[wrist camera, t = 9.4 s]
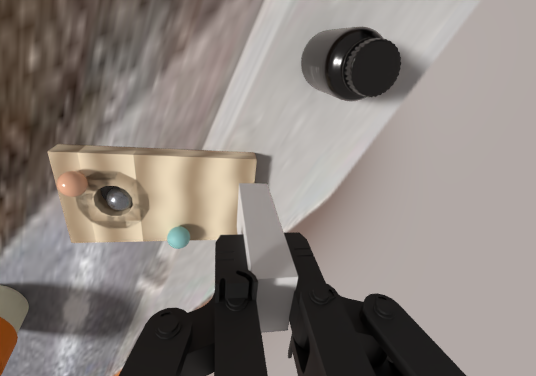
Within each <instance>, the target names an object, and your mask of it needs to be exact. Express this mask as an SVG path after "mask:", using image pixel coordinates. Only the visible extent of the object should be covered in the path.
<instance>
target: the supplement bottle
mask: <svg viewBox="0 0 536 376" xmlns="http://www.w3.org/2000/svg"><path fill="white" fill-rule="evenodd" d="M400 60H401V57H400V53H399V52H398V48H397V47H396V46H395V44H392V42H391V41H388V40H387V39H383V37H382V36H381V35H380V34H379V33H378V32H377V31H375V30H373V29H371V28H367V27H351V28H342V29H333V30H326V31H323V32H320V33H318V34H317V35H315V36H314V37H313V38H312V39H311V40H310V41H309V42H308V44H307V45H306V47H305V49H304V52H303V55H302V61H301V66H302V72H303V75H304V77H305V79H306V81H307V82H308V83H309V84H310V85H311V86H312V87H314V88H316V89H318V90H320V91H322V92H325V93H327V94H329V95H332V96H334V97H336V98H339V99H341V100H345V101H358V100H361V99H364V98H366V97H373V96H375V97H376V96H377V95H381V94H382V93H384V92H386V91H387V90H388V89H390V87H391V86H392V85H393V84H394V82H395V81H396V79H397V77H398V75H399V71H400V65H401V62H400Z"/></svg>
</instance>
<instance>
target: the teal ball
mask: <svg viewBox="0 0 536 376" xmlns="http://www.w3.org/2000/svg"><path fill="white" fill-rule="evenodd" d="M167 241H168V243H169V245H170V246H171V247H173V248H176V249H180V248H183V247H185V246H186V245H187V244H188V243H189V241H190V233H189V231H188V230H187V229H186V228H184V227H180V226H178V227H174V228H172V229H171V230H170V231H169V233H168V235H167Z"/></svg>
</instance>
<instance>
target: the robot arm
mask: <svg viewBox="0 0 536 376" xmlns="http://www.w3.org/2000/svg"><path fill="white" fill-rule="evenodd" d="M289 321H290V325H291V329H292V336H291V341H290V346H289V350H288V358H291V357H292V352H293V356H294V360H295V364H296V368H297V373H298V376H466V375H465V374H464V373H463V372H462V371H461V370H460V369H459V368H458V367H457V365H456V364H455V363H454V362H453V361H452V360H451V359H450V358H449V357H448V356H447V355H446V354H445V353H444V352H443V351H442V350H441V348H440V347H439V346H438V345H437V344H436V343H435V342H434V341H433V340H432V339H431V338H430V337H429V336H428V335H427V334H426V333H425V332H424V330H422V328H421V327H419V325H418V324H417V323H416V322H415V321H414V320H413V319H412V318H411V317H410V316H409V315H408V314H407V313H406V311H405V310H404V309H403V308H402V307H401V306H400V305H399V304H398V303H397V302H395V301H394V300H393V299H391V298H389V297H387V296H385V295H381V294H370V295H369V296H367V297H366V298H365V300H364V302H361V301H357V300H352V299H348V298H345V297H341V296H340V295H338V293H337V292H336V290H335V289H334V288H332V287H331V286H330V285H329V284H326V282H325V280H324V278H323V276H322V273H321V271H320V269H319V266H318V264H317V262H316V260H315V257H314V256H313V253H312V251H311V249H310V246H309V243H308V241H307V239H306V238H305V237H303V236H302V235H301V234H300V233H284V232H283V229H282V226H281V223H280V220H279V217H278V214H277V211H276V208H275V205H274V202H273V199H272V196H271V193H270V190H269V187H268V184H261V183H239V192H238V210H237V235H220V236H219V238H218V240H217V241H216V248H215V293H214V295H213V297H212V299H211V300H210V301H209V302H208V303H207V304H206V305H205V306H203V307H201V308H199V309H197V310H194V311H192V312H189V313H187V312H186V311H185V310H182V309H179V308H167V309H164V310H161V311H159V312H157V313H156V314H154V315H153V316H152V317H151V318H150V319H149V320H148V322H147V323H146V324H145V326H144V328H143V330H142V332H141V334H140V336H139V338H138V340H137V342H136V344H135V346H134V347H133V349H132V351H131V353H130V355H129V357H128V359H127V361H126V363H125V365H124V367H123V369H122V371H121V372H120V374H119V376H207V375H209V374H211V373H213V372H214V376H268V375H267V368H266V362H265V355H264V348H263V342H262V335H261V333H262V332H274V331H285V330H288V325H289Z"/></svg>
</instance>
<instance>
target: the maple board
mask: <svg viewBox="0 0 536 376" xmlns="http://www.w3.org/2000/svg"><path fill="white" fill-rule="evenodd" d="M48 155H49V159H50V163H51V167H52V170H53V174H54V178H55V182H56V183H57V179H58V177H59V176H60V175H61V174H63V173H65V172H68V171H77V172H80V173H82V174H83V175H84V176H85V177H86V178H87V181H88V187H87V190H86V191H85V192H84V193H83V194H81V195H79V196H76V197H69V196H65V195H63V194H62V193H61V192H60V191H59V190H58V193H59V197H60V201H61V205H62V209H63V212H64V216H65V220H66V224H67V228H68V232H69V235H70V239H71V243H88V242H134V241H167V235H168V233H169V231H170V230H171V229H172V228H174V227H178V226H180V227H184V228H186V229H187V230H188V231H189V233H190V240H218V238H219V236H220V235H237V210H238V192H239V183H254V182H255V172H256V162H257V159H256V156H255V154H254V153H251V152H228V151H204V150H181V149H158V148H135V147H111V146H88V145H65V144H58V145H56V146H55V147H53V148H52V149H50V150H49V151H48ZM56 186H57V185H56ZM104 186H118V187H120V188H122V189H124V190H126V191H127V192H128V193H129V195H130V196H131V197H132V202H133V204H132V205H131V206H130V207H129V208H128V209H126V210H121V211H118V210H114V209H112V208H111V207H110V206H109V205H108V203H107V201H106V200H105V199H104V198H103V197H102V195H101V190H100V188H102V187H104ZM57 189H58V188H57Z"/></svg>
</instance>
